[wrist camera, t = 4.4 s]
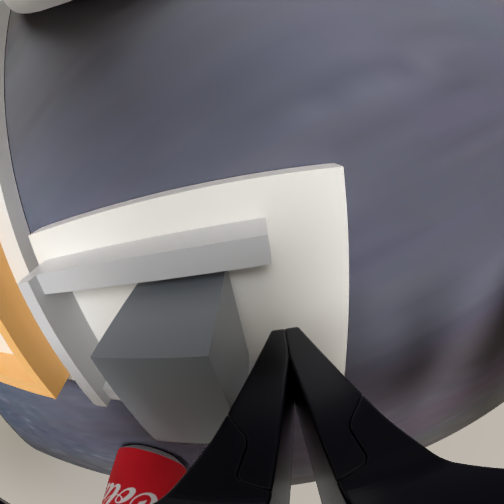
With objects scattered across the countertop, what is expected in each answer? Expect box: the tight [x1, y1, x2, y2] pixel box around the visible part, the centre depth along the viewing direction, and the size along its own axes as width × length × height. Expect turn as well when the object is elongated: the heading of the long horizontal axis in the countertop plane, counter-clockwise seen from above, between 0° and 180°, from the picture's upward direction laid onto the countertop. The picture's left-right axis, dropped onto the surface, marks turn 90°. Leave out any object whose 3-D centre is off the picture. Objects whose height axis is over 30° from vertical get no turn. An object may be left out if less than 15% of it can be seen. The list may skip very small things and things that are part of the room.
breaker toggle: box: [90, 271, 249, 444], centre depth 8 cm, size 3×4×4 cm
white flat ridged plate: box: [17, 163, 349, 407], centre depth 9 cm, size 12×9×3 cm
